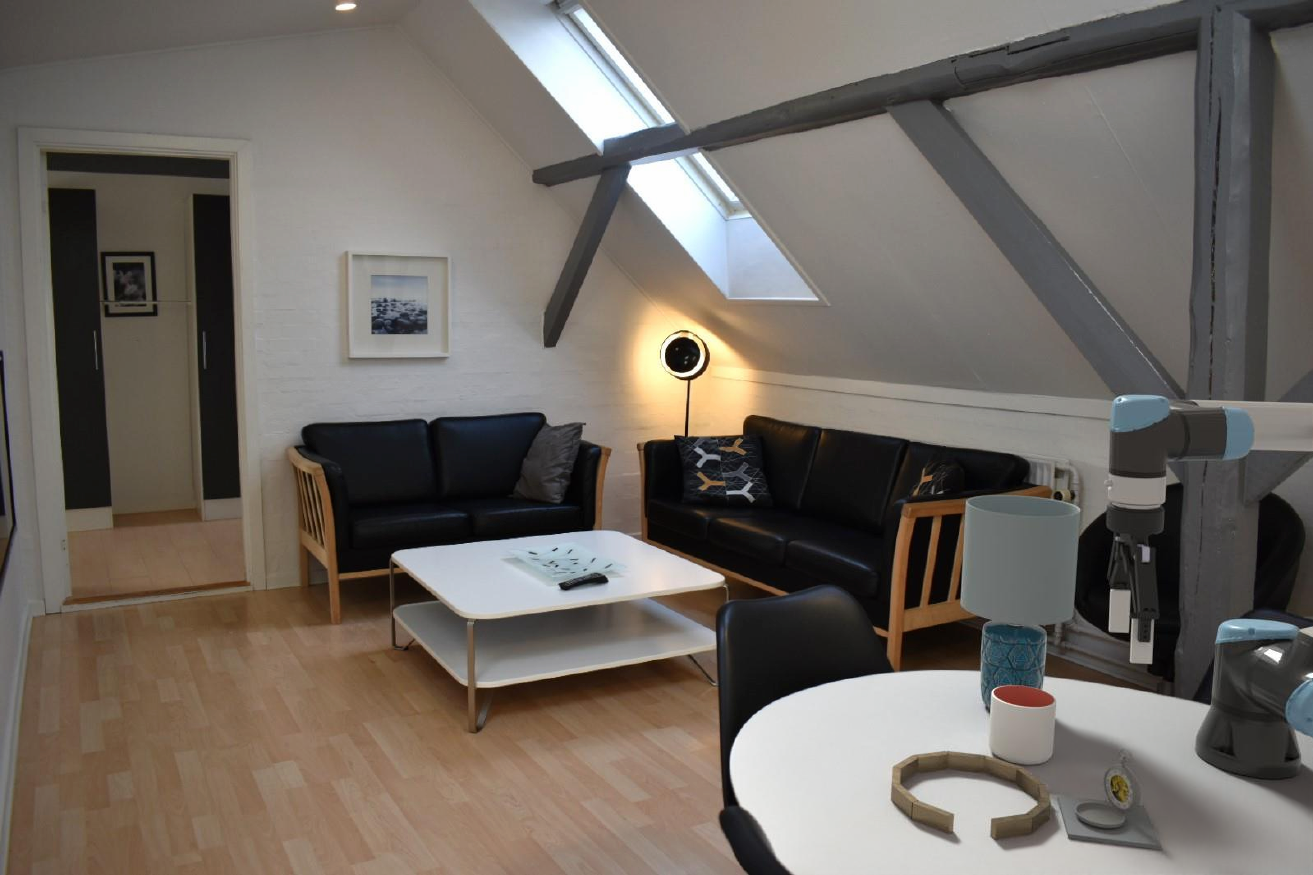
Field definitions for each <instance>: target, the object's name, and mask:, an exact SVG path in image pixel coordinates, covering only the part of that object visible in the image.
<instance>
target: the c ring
mask: <svg viewBox="0 0 1313 875" xmlns="http://www.w3.org/2000/svg"><path fill="white" fill-rule="evenodd" d="M891 770H892V773H891V774H892V775H891V790H890V792H891V793H890V794H891V795H890V800H891V802H893V804H895V805H896V806H897V807H898V808H899V809H900V810H901V811H902V812H903V813H905V815H906V816H908V817H909V818H910V819H911V820H913V821H916V822H917V823H920V824H923V825H925V826H928V827H930V828H933V829H936V830H938V831H941V832H943V833H946V834H951V833H952V832H954V823H955V822H954V821H955V813H952V812H950V811H948V810H945V809H943V808H940V807H937V806H934V805H931V804H929V803H926V802H923V801H920V800H918V799H917V797H915V796H914V795H913V794H912V793H911V792H910V791H909V790H907V789H906V788H905V787H904V786H903V785H902V783H904V782H905V781H907V780H909V779H910V778H912V777H914V776H915V775H917V774H920V773H928V772H929V773H930V772H935V771H944V770H953V771H962V772H967V773H968V772H969V773H979V774H980V773H981V774H984V775H987V776H990V777H993V778H996V779H999V780H1002V781H1004V782H1008V783H1011V784H1014V785H1016V786H1017V787H1018V788H1020V789H1021V790H1023V791H1024V792H1025V793H1027V794H1028V795H1030V796H1031V797H1032V798H1034V799H1035V801H1037V804H1036V805H1035V806H1034V807H1032V808H1031V809H1030V810H1028V811H1027V812H1026V813H1020V814H1014V815H1006V816H1000V817H994V818H993V817H992V818H990V831H989V832H990V833H989V835H990V837H991V838H992V839H993V840H1003V839H1009V838H1017V837H1023V836H1028V835H1029V836H1030V835H1033V834H1034V833H1036V831H1038V830H1039V829H1040V828H1042V827H1043V826H1044V825H1045V824H1046V823H1047V822H1049V821H1050V820H1051V812H1052V800H1051V796H1050V793H1049V790H1048V785H1047V784H1046V783H1045V782H1044V781H1042V779H1039V778H1038V777H1036V776H1035V775H1034V774H1032V773H1031V772H1030V771H1028V770H1027V769H1025V768H1024V767H1022V766H1020V765H1018V764H1015V763H1012V762H1009V761H1006V760H1003V759H998V758H995V757H992V756H989V755H985V754H978V753H969V752H960V751H952V750H951V751H950V750H942V751H934V752H933V751H932V752H928V753H927V752H926V753H919V754H912V755H909V756H908V757H907V758H905V759H903V760H902V761H900V762H898V763H897V764H895V765H893V766H892V769H891Z"/></svg>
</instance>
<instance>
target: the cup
mask: <svg viewBox="0 0 1313 875" xmlns="http://www.w3.org/2000/svg"><path fill="white" fill-rule="evenodd" d="M1056 708H1057V699H1056V698H1055V697H1054V695H1053V694H1051V693H1049V692H1047V691H1045V690H1043V689H1042V690H1040V689H1037V688H1033V687H1027V686H1019V685H1006V686H1000V687H997V688H995V689H994V690H993V691H992V693H991V709H989V710H990V711H989V725H988V726H989V729H988V731H989V732H988V747H989V749H990V751H991V752H992V753H993V754H995V756H997V757H998V758H1000V759H1001V760H1003V761H1005V762H1008V763H1012V764H1016V765H1018V764H1019V765H1025V766H1026V765H1032V766H1033V765H1040V764H1043V763H1045V762H1048V761H1049V760H1050V759H1051V757H1052V756H1053V752H1054V739H1055V728H1056V727H1055V726H1056V724H1055V723H1056V710H1057V709H1056Z"/></svg>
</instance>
